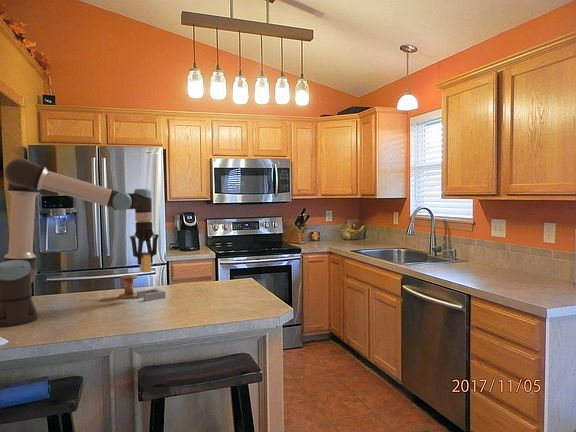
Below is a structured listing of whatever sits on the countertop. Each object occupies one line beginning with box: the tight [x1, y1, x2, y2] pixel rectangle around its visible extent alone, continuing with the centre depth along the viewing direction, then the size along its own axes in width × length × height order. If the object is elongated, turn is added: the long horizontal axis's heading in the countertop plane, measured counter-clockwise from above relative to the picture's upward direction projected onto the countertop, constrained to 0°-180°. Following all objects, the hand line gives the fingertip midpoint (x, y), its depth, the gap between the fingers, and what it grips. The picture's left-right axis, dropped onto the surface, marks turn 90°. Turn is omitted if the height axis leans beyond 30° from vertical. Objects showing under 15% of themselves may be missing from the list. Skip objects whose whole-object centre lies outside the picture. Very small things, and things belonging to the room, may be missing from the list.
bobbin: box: [118, 274, 138, 300], centre depth 203 cm, size 9×9×10 cm
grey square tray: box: [136, 287, 167, 302], centre depth 200 cm, size 10×10×3 cm
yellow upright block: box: [141, 251, 152, 274], centre depth 198 cm, size 3×5×9 cm, turn 41°
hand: (145, 270), depth 198 cm, fingers closed on yellow upright block, 3 cm apart
